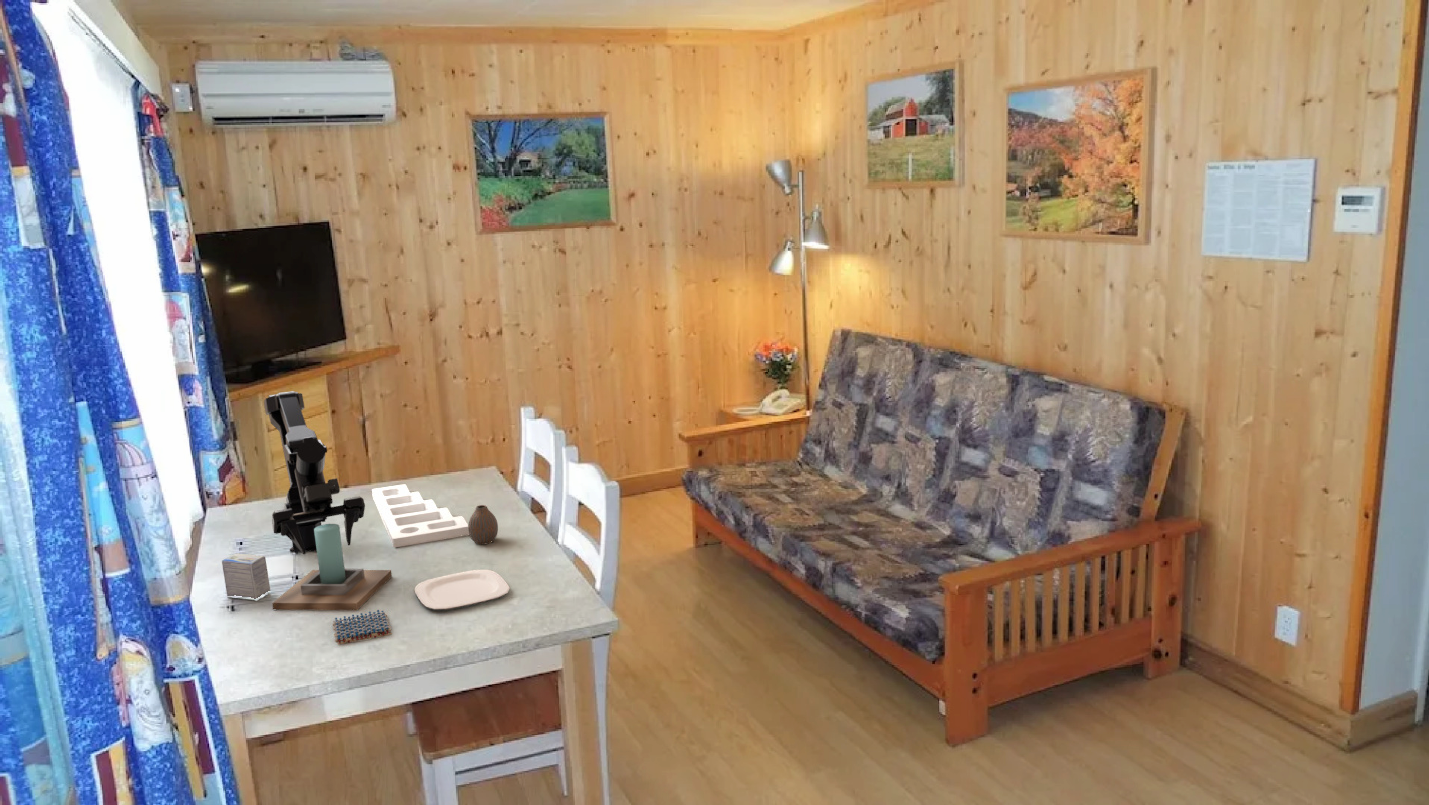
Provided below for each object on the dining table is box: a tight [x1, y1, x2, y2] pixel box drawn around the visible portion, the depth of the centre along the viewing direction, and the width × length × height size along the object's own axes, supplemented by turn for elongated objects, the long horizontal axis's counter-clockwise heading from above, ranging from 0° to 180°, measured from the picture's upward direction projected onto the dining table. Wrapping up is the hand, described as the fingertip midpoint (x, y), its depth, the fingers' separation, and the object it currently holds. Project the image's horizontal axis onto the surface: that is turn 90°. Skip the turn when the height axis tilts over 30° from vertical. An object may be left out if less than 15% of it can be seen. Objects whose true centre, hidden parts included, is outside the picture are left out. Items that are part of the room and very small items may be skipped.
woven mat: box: [332, 609, 393, 646], centre depth 205 cm, size 10×11×2 cm
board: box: [271, 568, 393, 611], centre depth 224 cm, size 18×18×4 cm
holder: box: [371, 484, 470, 548], centre depth 273 cm, size 45×18×3 cm, turn 24°
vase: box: [467, 504, 499, 545], centre depth 251 cm, size 7×7×9 cm
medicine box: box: [221, 553, 272, 599], centre depth 223 cm, size 8×4×9 cm, turn 71°
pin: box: [314, 523, 346, 584], centre depth 222 cm, size 5×5×13 cm
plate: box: [414, 569, 511, 611], centre depth 221 cm, size 18×18×2 cm
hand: (327, 549), depth 225 cm, fingers open, 9 cm apart
